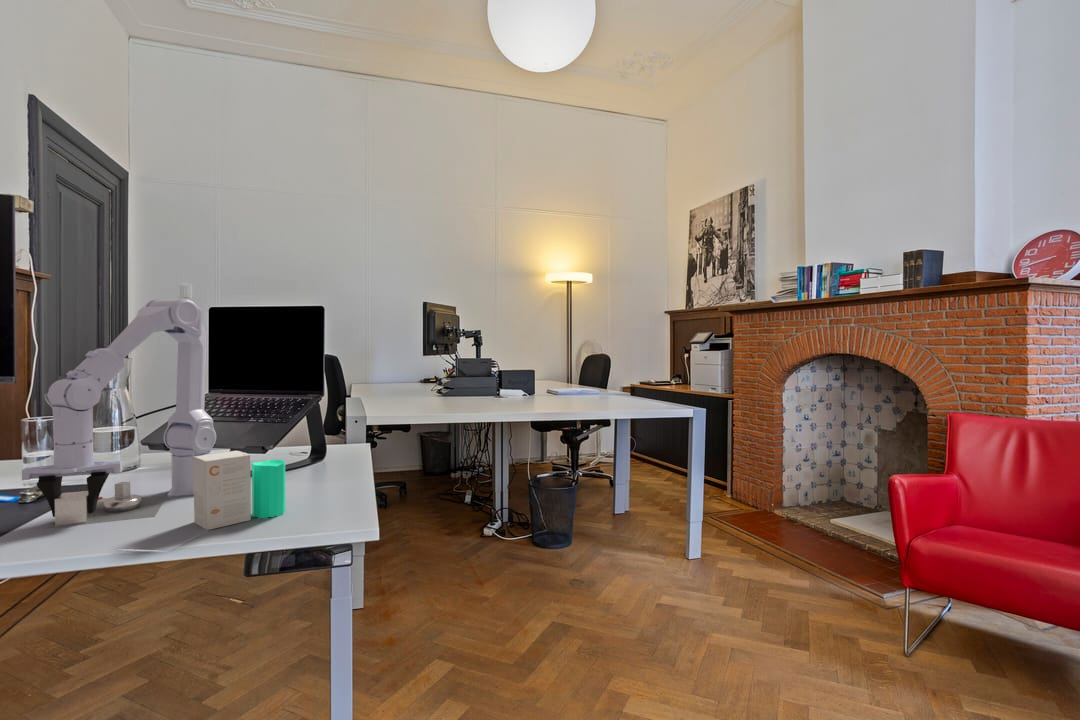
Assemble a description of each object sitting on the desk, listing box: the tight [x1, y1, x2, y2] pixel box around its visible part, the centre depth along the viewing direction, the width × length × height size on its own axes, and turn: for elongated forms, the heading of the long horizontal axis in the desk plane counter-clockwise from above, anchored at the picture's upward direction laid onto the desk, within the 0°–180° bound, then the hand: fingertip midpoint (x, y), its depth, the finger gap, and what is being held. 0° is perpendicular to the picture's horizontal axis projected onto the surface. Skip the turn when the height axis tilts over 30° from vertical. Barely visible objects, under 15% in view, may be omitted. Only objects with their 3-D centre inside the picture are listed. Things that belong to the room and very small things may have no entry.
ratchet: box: [96, 481, 142, 513], centre depth 112 cm, size 13×6×5 cm, turn 87°
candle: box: [251, 454, 286, 519], centre depth 111 cm, size 6×6×12 cm
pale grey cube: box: [54, 490, 93, 526], centre depth 104 cm, size 5×5×5 cm
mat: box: [48, 495, 168, 529], centre depth 111 cm, size 16×16×1 cm
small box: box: [193, 450, 252, 531], centre depth 105 cm, size 8×6×13 cm
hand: (74, 513), depth 104 cm, fingers closed on pale grey cube, 5 cm apart
